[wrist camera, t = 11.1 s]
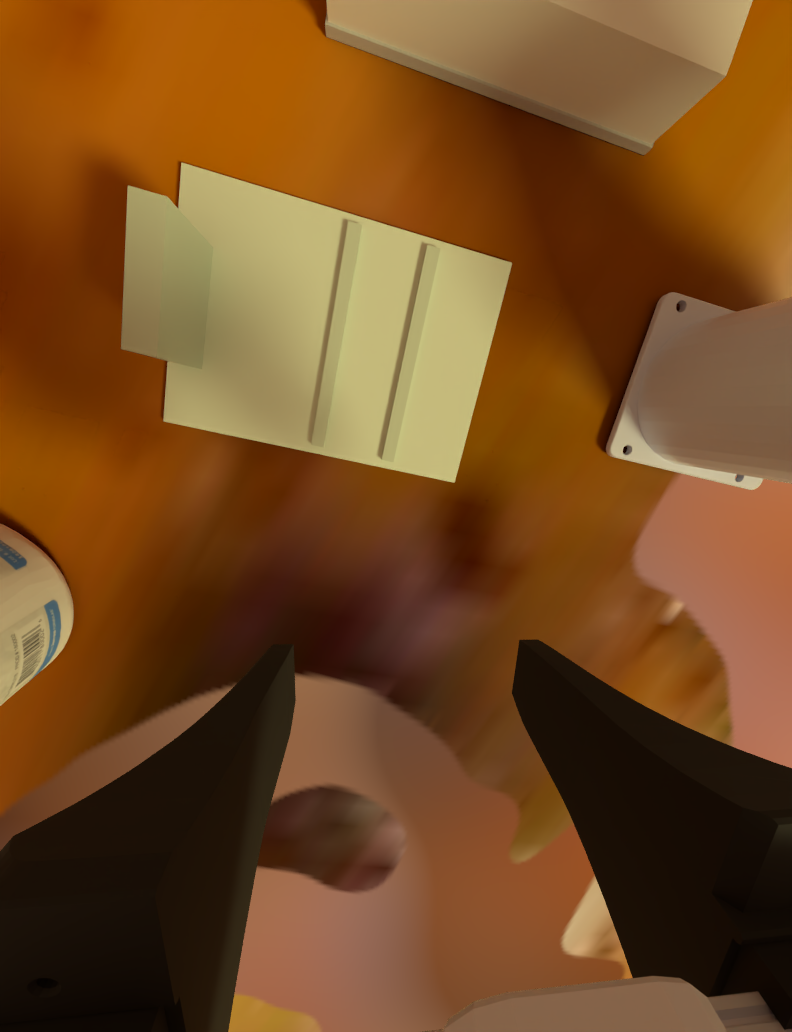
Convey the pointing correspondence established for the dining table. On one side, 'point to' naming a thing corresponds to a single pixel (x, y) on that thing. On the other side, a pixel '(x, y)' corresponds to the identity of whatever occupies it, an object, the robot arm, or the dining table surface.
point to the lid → (308, 323)
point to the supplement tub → (29, 611)
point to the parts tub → (560, 54)
